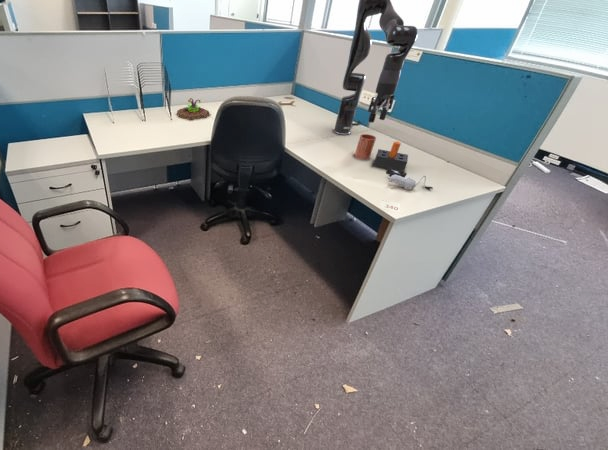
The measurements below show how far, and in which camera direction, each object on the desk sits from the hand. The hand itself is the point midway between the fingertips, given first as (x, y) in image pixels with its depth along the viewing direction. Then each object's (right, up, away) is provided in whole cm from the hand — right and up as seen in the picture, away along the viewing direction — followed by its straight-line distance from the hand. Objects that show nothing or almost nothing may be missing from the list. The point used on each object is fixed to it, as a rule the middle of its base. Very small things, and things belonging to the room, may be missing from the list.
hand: (376, 120), depth 146 cm
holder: (+14, -17, +16) cm, 28 cm away
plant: (-85, +28, +76) cm, 118 cm away
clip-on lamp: (+14, -29, +1) cm, 32 cm away
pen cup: (+5, -11, +25) cm, 27 cm away
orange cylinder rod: (+13, -18, +15) cm, 27 cm away
